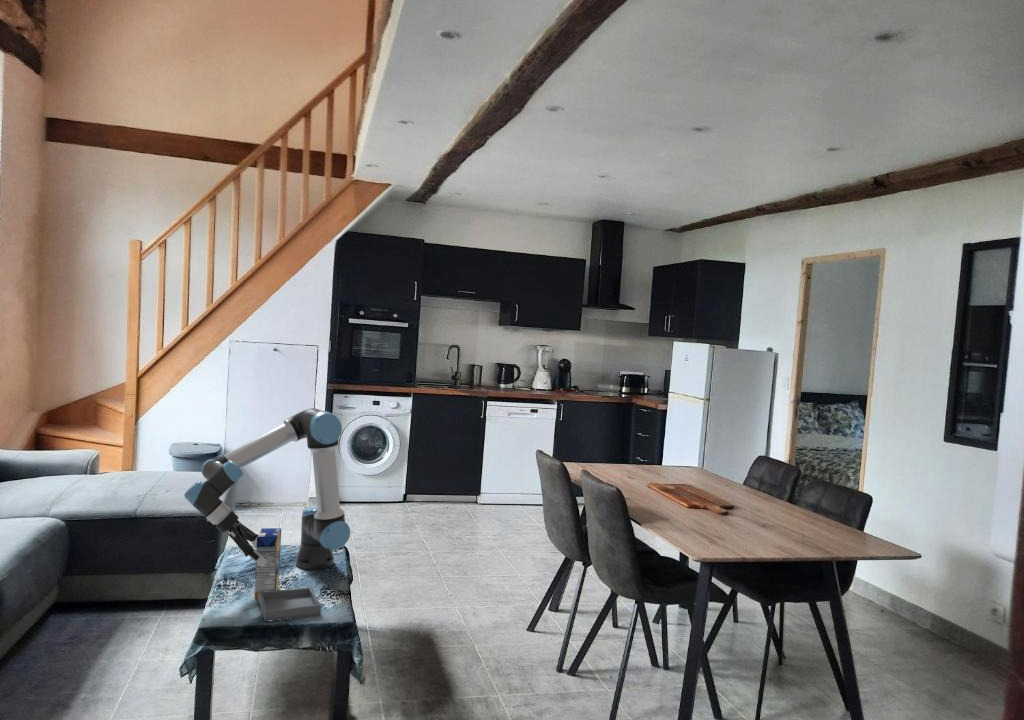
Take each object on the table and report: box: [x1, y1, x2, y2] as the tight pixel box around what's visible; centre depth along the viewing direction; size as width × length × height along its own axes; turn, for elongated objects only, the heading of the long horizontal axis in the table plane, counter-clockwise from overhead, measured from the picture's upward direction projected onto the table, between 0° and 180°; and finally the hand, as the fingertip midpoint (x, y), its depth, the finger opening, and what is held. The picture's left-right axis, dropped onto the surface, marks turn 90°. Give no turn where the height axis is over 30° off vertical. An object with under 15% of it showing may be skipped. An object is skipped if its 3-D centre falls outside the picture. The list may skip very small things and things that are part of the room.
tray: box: [257, 586, 322, 621], centre depth 249 cm, size 18×18×4 cm
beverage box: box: [254, 527, 282, 599], centre depth 263 cm, size 7×11×22 cm, turn 10°
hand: (266, 558), depth 262 cm, fingers open, 13 cm apart
